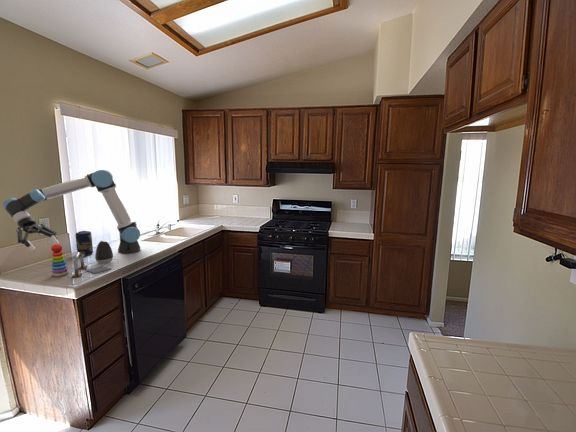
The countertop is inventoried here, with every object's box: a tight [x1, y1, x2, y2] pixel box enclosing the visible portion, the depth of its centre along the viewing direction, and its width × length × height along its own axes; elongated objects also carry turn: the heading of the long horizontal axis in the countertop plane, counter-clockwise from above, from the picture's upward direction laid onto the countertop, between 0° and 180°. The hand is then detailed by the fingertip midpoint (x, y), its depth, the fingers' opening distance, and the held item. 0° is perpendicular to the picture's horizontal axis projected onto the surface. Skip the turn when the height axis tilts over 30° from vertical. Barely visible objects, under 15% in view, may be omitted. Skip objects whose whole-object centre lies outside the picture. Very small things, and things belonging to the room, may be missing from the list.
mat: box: [84, 265, 112, 275], centre depth 182 cm, size 10×10×1 cm
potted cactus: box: [95, 240, 114, 265], centre depth 196 cm, size 10×10×15 cm
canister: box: [75, 230, 94, 257], centre depth 212 cm, size 10×10×18 cm
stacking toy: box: [51, 243, 70, 278], centre depth 172 cm, size 8×8×19 cm
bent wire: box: [71, 251, 88, 279], centre depth 177 cm, size 4×18×13 cm, turn 24°
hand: (46, 247), depth 173 cm, fingers open, 13 cm apart
